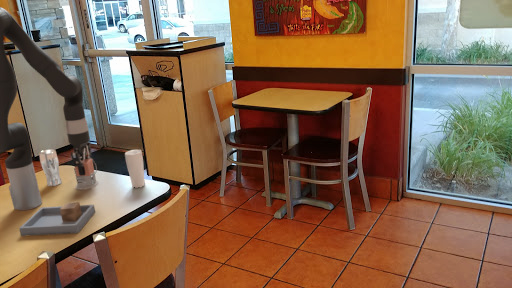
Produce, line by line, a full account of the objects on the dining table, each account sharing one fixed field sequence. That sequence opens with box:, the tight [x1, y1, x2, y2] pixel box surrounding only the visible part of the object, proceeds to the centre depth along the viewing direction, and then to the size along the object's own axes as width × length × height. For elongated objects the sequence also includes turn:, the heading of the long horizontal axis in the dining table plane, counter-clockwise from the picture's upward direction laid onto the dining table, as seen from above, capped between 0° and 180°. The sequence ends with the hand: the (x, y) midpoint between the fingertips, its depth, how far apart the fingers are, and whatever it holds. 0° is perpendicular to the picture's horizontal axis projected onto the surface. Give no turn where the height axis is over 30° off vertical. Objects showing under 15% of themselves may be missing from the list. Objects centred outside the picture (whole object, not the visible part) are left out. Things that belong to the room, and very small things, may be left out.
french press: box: [70, 156, 100, 191], centre depth 193 cm, size 10×12×25 cm
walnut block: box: [60, 201, 82, 222], centre depth 164 cm, size 5×5×5 cm
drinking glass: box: [124, 149, 146, 189], centre depth 189 cm, size 7×7×15 cm
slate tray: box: [18, 204, 96, 237], centre depth 163 cm, size 20×16×3 cm
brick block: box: [74, 158, 95, 176], centre depth 175 cm, size 5×5×5 cm
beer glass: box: [38, 148, 63, 187], centre depth 199 cm, size 7×7×15 cm
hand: (85, 172), depth 176 cm, fingers closed on brick block, 5 cm apart
